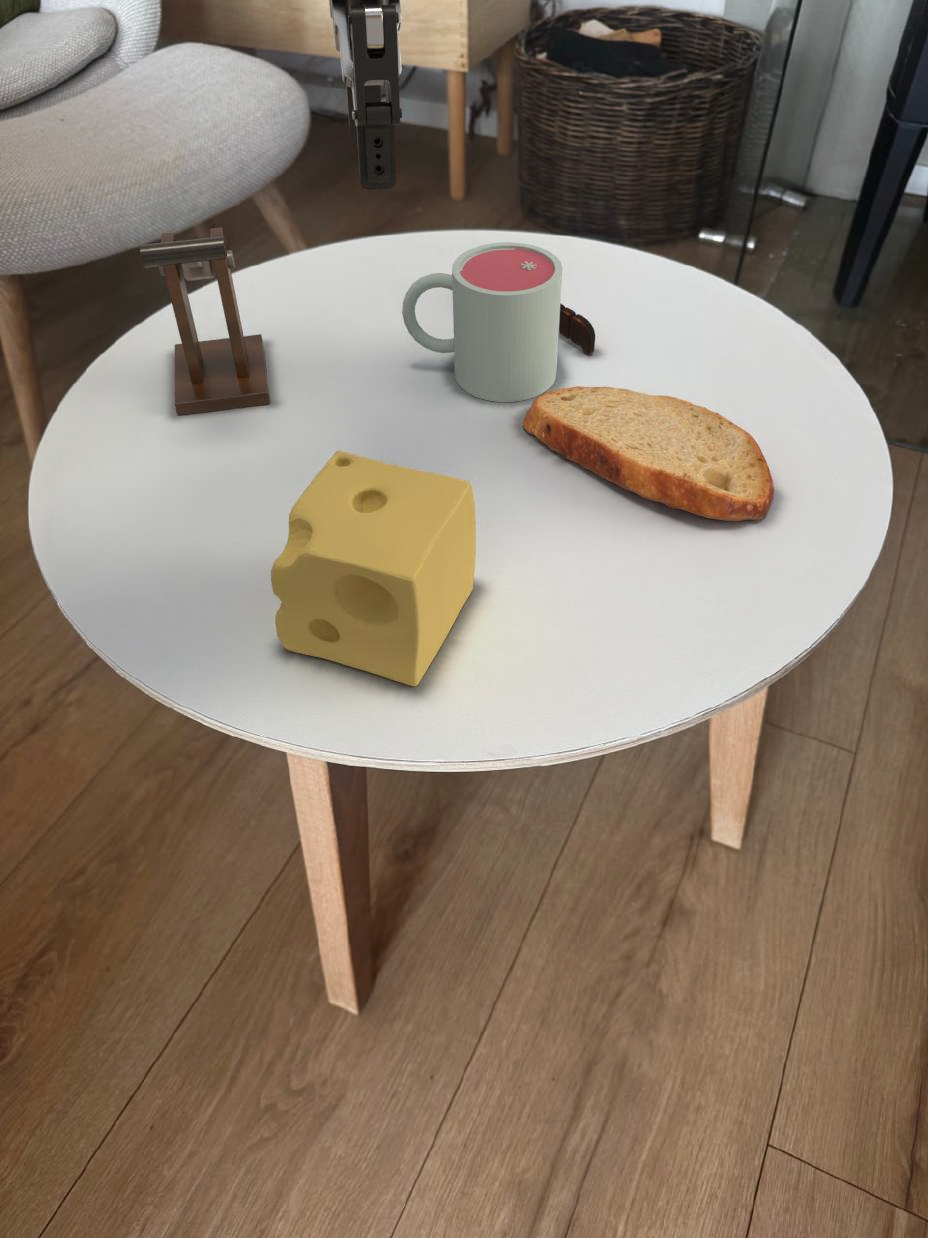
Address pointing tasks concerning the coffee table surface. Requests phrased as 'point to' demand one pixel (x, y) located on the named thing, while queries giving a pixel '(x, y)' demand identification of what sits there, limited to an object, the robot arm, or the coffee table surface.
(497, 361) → the mug
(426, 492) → the cheese
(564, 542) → the coffee table surface
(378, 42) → the robot arm
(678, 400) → the slice of bread
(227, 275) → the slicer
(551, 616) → the coffee table surface
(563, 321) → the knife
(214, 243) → the lever
